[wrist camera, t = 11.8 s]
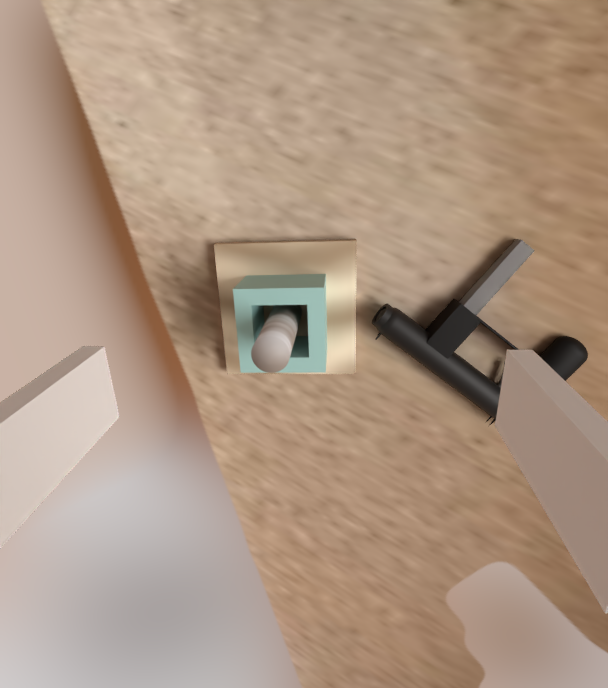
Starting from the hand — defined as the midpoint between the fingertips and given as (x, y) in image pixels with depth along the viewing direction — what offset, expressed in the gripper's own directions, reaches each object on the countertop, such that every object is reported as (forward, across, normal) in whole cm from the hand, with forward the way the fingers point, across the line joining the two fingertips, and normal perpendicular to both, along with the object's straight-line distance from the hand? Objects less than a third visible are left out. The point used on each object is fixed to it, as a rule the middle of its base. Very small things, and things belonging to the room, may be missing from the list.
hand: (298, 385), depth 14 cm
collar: (+30, -4, -7) cm, 31 cm away
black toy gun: (+32, +16, -9) cm, 37 cm away
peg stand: (+31, -4, -7) cm, 32 cm away
